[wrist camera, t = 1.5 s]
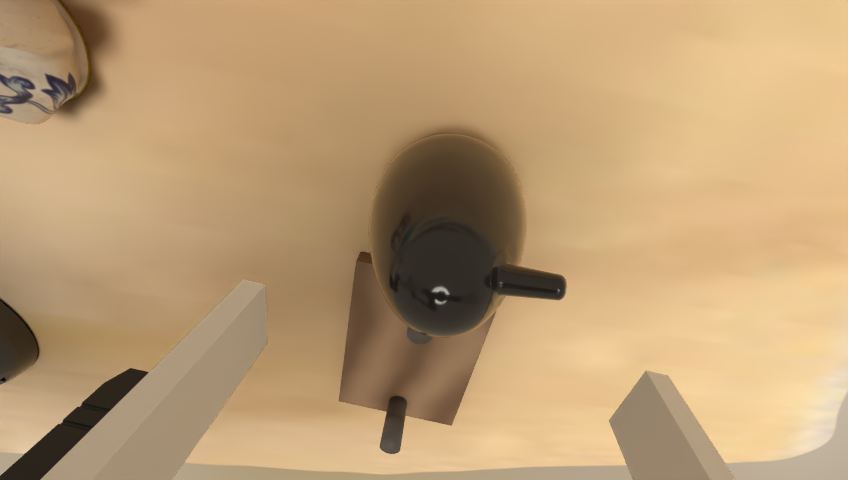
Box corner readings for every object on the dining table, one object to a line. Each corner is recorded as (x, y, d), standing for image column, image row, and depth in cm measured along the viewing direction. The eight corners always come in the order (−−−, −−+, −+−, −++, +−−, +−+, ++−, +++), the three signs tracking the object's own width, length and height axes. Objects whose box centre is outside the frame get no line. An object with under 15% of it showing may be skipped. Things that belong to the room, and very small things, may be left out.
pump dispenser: (519, 240, 29) (571, 396, 15) (399, 251, 30) (351, 402, 17) (515, 113, 24) (584, 178, 11) (374, 134, 26) (281, 213, 12)
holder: (342, 389, 40) (323, 445, 34) (360, 252, 31) (338, 295, 25) (451, 413, 40) (450, 472, 34) (501, 283, 31) (510, 333, 25)
